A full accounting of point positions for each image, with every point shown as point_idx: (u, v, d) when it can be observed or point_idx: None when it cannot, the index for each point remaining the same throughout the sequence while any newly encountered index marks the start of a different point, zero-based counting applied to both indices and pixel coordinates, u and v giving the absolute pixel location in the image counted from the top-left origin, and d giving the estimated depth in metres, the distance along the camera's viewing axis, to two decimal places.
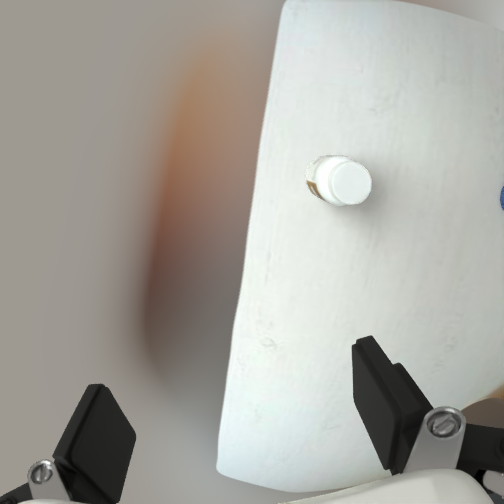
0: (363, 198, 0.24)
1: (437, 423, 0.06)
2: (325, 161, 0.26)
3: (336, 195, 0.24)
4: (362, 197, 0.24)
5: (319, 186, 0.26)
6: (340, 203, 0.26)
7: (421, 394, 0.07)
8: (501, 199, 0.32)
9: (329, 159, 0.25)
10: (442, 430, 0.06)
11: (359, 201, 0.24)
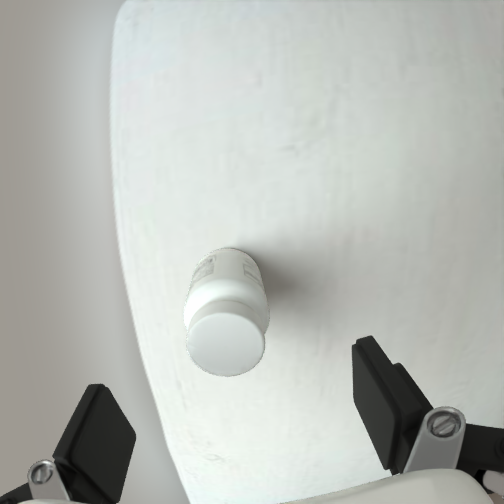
0: (252, 364, 0.14)
1: (437, 423, 0.06)
2: (190, 292, 0.15)
3: (201, 368, 0.13)
4: (251, 363, 0.13)
5: None
6: None
7: (421, 395, 0.07)
8: None
9: (195, 289, 0.15)
10: (442, 430, 0.06)
11: (246, 369, 0.14)
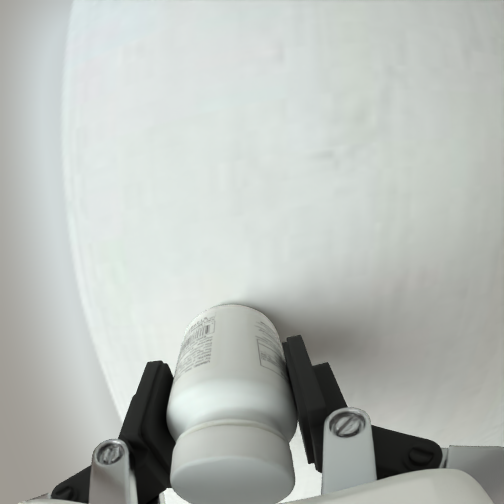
0: (274, 501, 0.07)
1: (340, 425, 0.07)
2: (175, 391, 0.09)
3: None
4: (271, 501, 0.07)
5: None
6: None
7: (339, 394, 0.09)
8: None
9: (181, 390, 0.09)
10: (347, 430, 0.07)
11: None
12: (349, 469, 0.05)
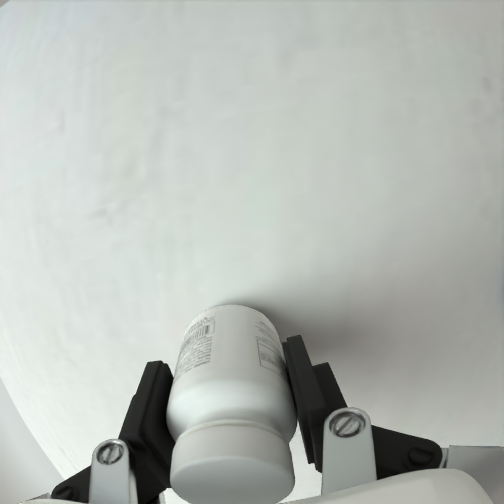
0: (273, 501, 0.07)
1: (340, 425, 0.07)
2: (175, 391, 0.09)
3: None
4: (271, 501, 0.07)
5: None
6: None
7: (339, 394, 0.09)
8: None
9: (181, 391, 0.09)
10: (347, 430, 0.07)
11: None
12: (349, 469, 0.05)
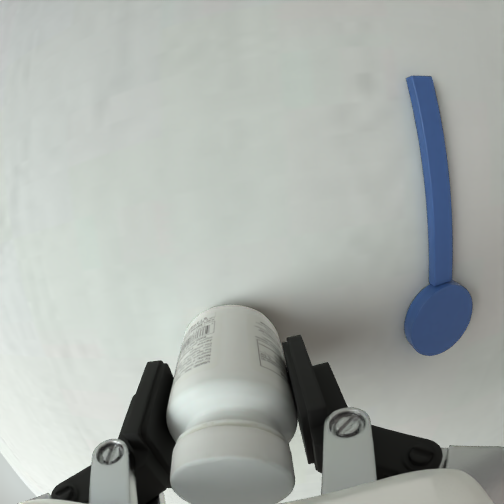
0: (273, 501, 0.07)
1: (340, 425, 0.07)
2: (175, 391, 0.09)
3: None
4: (271, 501, 0.07)
5: None
6: None
7: (339, 394, 0.09)
8: (406, 333, 0.15)
9: (181, 391, 0.09)
10: (347, 430, 0.07)
11: None
12: (349, 469, 0.05)
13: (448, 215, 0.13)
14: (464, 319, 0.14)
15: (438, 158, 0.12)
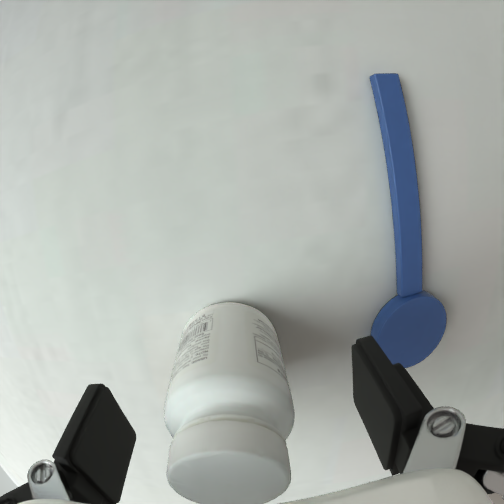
0: (270, 497, 0.07)
1: (437, 423, 0.06)
2: (173, 387, 0.09)
3: None
4: (268, 498, 0.07)
5: None
6: None
7: (421, 395, 0.07)
8: None
9: (179, 386, 0.09)
10: (442, 430, 0.06)
11: (260, 503, 0.07)
12: None
13: (416, 222, 0.12)
14: (437, 331, 0.14)
15: (405, 162, 0.12)
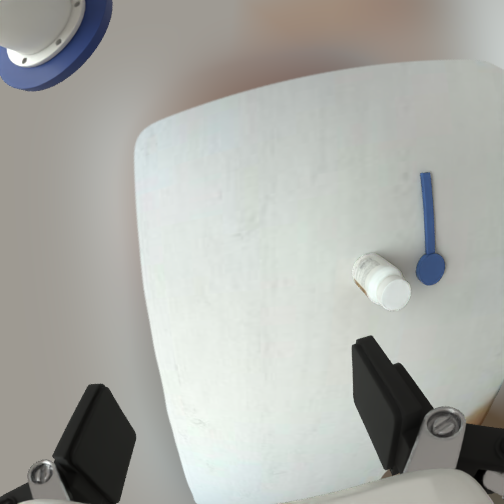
0: (405, 304, 0.28)
1: (437, 423, 0.06)
2: (372, 273, 0.31)
3: (384, 307, 0.28)
4: (404, 303, 0.28)
5: (369, 295, 0.31)
6: None
7: (421, 395, 0.07)
8: (417, 274, 0.36)
9: (375, 271, 0.30)
10: (442, 430, 0.06)
11: (402, 307, 0.29)
12: None
13: (432, 226, 0.34)
14: (441, 269, 0.35)
15: (429, 204, 0.33)
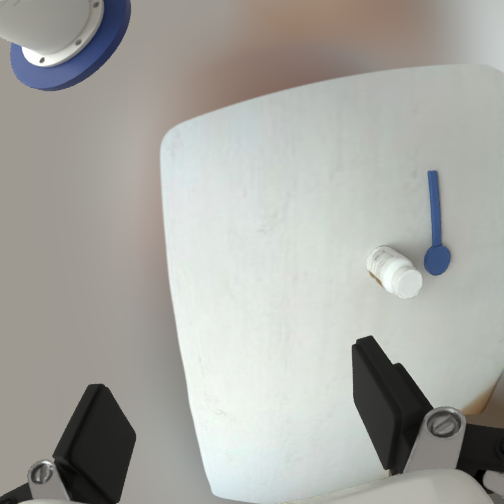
0: (417, 292, 0.31)
1: (437, 423, 0.06)
2: (387, 264, 0.33)
3: (399, 295, 0.31)
4: (416, 292, 0.31)
5: (384, 284, 0.33)
6: None
7: (421, 395, 0.07)
8: (425, 265, 0.38)
9: (390, 263, 0.32)
10: (442, 430, 0.06)
11: (414, 295, 0.31)
12: None
13: (439, 220, 0.36)
14: (447, 260, 0.37)
15: (436, 200, 0.35)
